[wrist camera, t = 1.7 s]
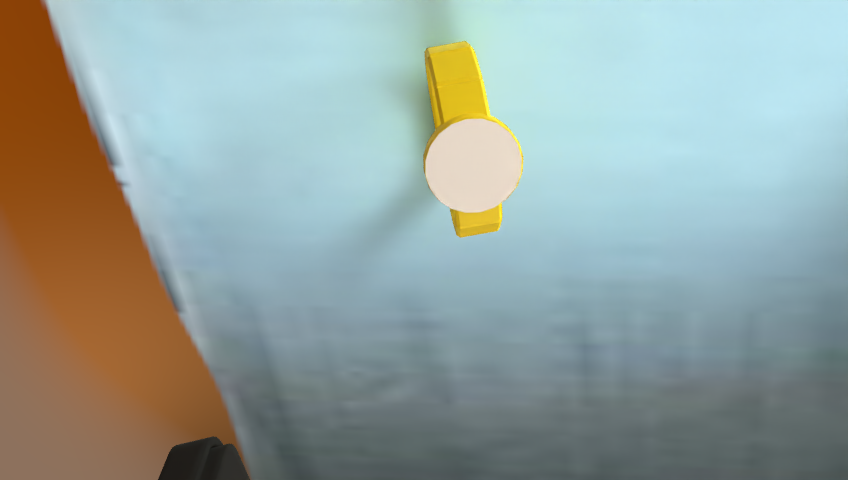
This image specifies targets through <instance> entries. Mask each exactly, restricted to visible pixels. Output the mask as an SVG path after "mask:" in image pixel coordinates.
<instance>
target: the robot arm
mask: <svg viewBox="0 0 848 480" xmlns="http://www.w3.org/2000/svg"><path fill="white" fill-rule="evenodd" d="M158 480H250V479H249V476H248V474H247V472H246V470H245V467H244V465H243V463H242V461H241V458H240V456H239V454H238V452H237V450H236V448H235V447H234V446H233V445H232V444H226V445H223V444H222V442H221V441H220V440H219V439H218V438H217V437H210V438H205V439H201V440H197V441H192V442H188V443H184V444H180V445H176V446H174V447H173V448H172V449H171V451H170V452H169V454H168V457H167V459H166V462H165V464H164V467H163V469H162V472H161V474H160V476H159V479H158Z"/></svg>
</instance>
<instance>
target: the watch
mask: <svg viewBox="0 0 848 480" xmlns="http://www.w3.org/2000/svg"><path fill="white" fill-rule="evenodd" d="M425 65H426V73H427V81H428V88H429V94H430V100H431V106H432V112H433V118H434V124H435V131H434V133H433V134H432V135H431V137H430V138H429V140H428V142H427V145H426V148H425V151H424V156H423V162H424V173H425V177H426V180H427V183H428V186H429V188H430V190H431V191H432V192H433V194H434V195H435V196H436V198H437V199H438V200H439V201H440V202H442V203H443V204H445V205H446V206H448V207H449V208H450V212H451V216H452V221H453V225H454V228H455V232H456V235H457V236H459V237H466V236H472V235H477V234H483V233H488V232H494V231H498V229H499V228H500V225H501V221H502V202H503V201H505V200H506V199H507V198H508V197H509V196H510V195H511V194H512V192H513V191H514V190H515V188H516V187H517V185H518V183H519V180H520V177H521V175H522V171H523V154H522V151H521V147H520V144H519V142H518V140H517V139H516V137H515V136H514V134H513V133H512V132H511V130H510V129H509V128H508V127H507V126H506V125H505V124H504V123H502V122H501V121H500V120H498V119H497V118H495V117H493V116H491V115H490V111H489V106H488V101H487V96H486V91H485V86H484V81H483V80H482V74H481V71H480V67H479V64H478V61H477V57H476V54H475V51H474V49H473V48H472V47H471V45H470V44H469V43H467V42H466V41H462V42H457V43H452V44H446V45H441V46H435V47H430V48H427V49H426V50H425Z"/></svg>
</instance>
